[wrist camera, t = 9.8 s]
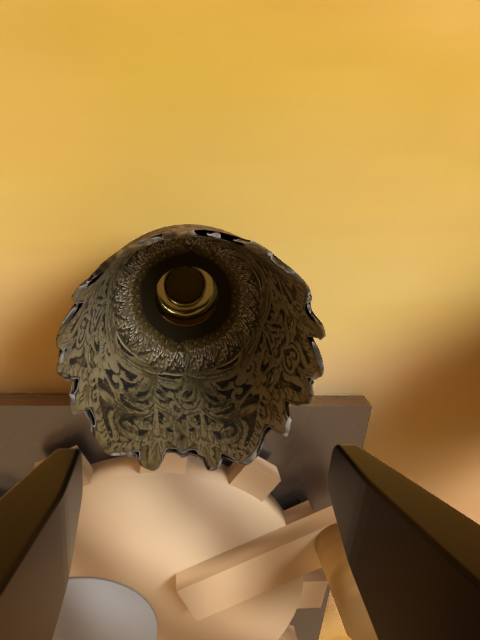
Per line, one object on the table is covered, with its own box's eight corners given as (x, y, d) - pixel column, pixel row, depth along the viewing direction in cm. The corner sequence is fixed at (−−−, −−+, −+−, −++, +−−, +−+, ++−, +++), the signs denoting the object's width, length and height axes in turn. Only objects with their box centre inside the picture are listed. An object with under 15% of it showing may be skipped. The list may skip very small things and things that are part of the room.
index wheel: (167, 330, 19) (168, 414, 13) (401, 541, 26) (471, 659, 20) (-130, 603, 22) (-239, 776, 16) (153, 729, 29) (150, 883, 23)
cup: (86, 348, 20) (41, 466, 13) (108, 179, 18) (67, 205, 10) (247, 370, 22) (289, 486, 14) (286, 218, 19) (360, 264, 12)
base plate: (363, 396, 23) (372, 408, 22) (303, 666, 31) (308, 685, 30) (-89, 393, 20) (-103, 407, 19) (-34, 701, 27) (-42, 724, 26)
